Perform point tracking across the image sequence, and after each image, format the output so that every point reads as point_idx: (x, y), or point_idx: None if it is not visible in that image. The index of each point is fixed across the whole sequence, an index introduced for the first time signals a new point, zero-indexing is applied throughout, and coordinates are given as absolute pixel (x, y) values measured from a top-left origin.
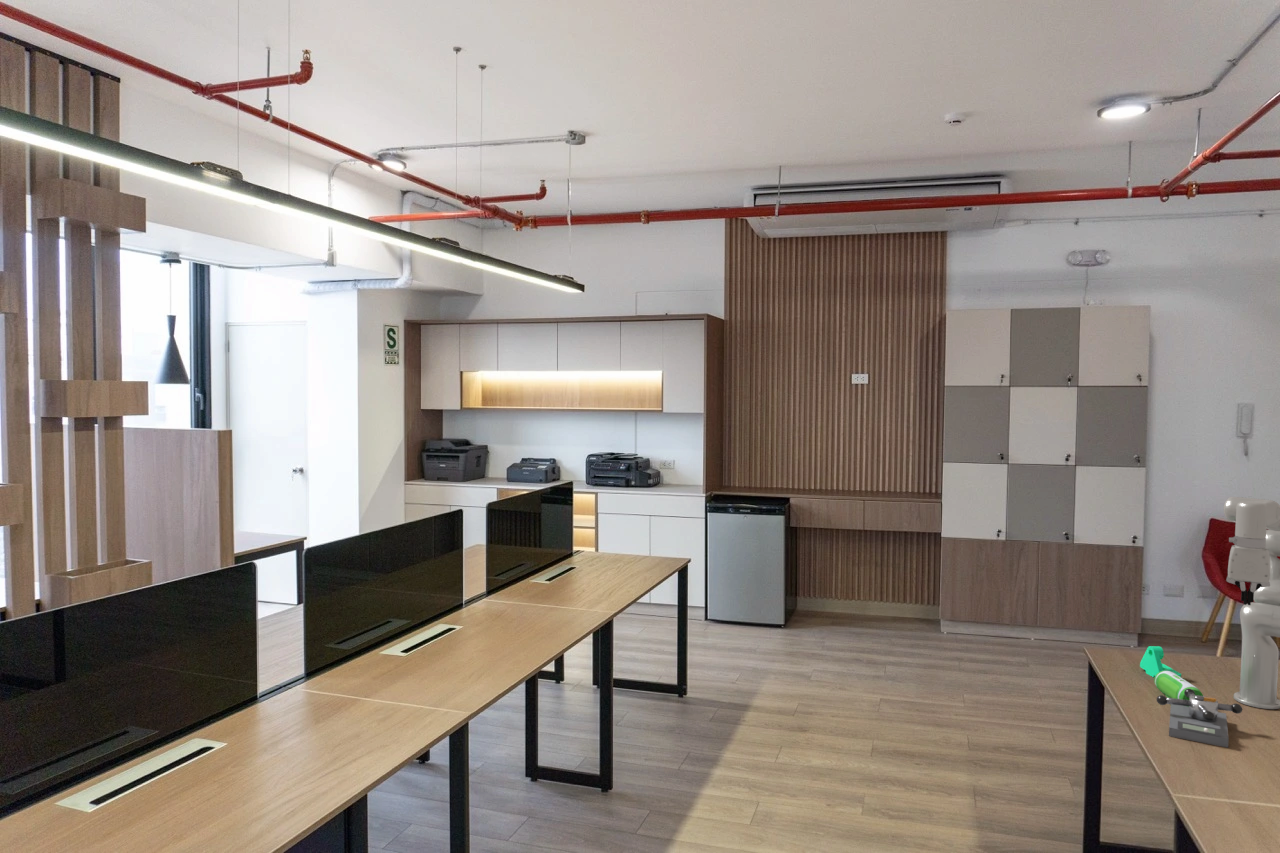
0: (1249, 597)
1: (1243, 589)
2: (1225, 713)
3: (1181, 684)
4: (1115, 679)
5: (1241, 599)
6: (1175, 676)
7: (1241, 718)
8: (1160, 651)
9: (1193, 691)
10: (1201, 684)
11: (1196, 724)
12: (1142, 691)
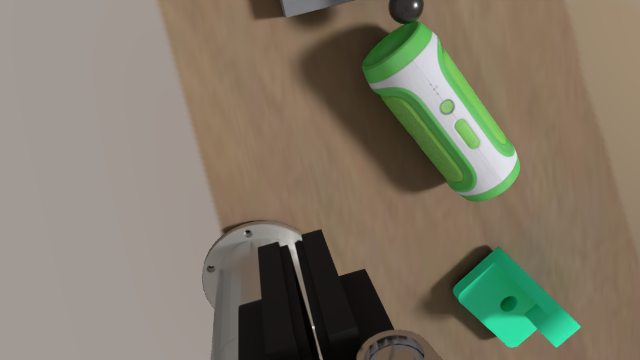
0: (278, 293)
1: (386, 354)
2: (287, 16)
3: (443, 70)
4: (593, 163)
5: (363, 271)
6: (471, 136)
7: (258, 92)
8: (543, 321)
9: (397, 3)
10: (404, 302)
11: None
12: (521, 114)
